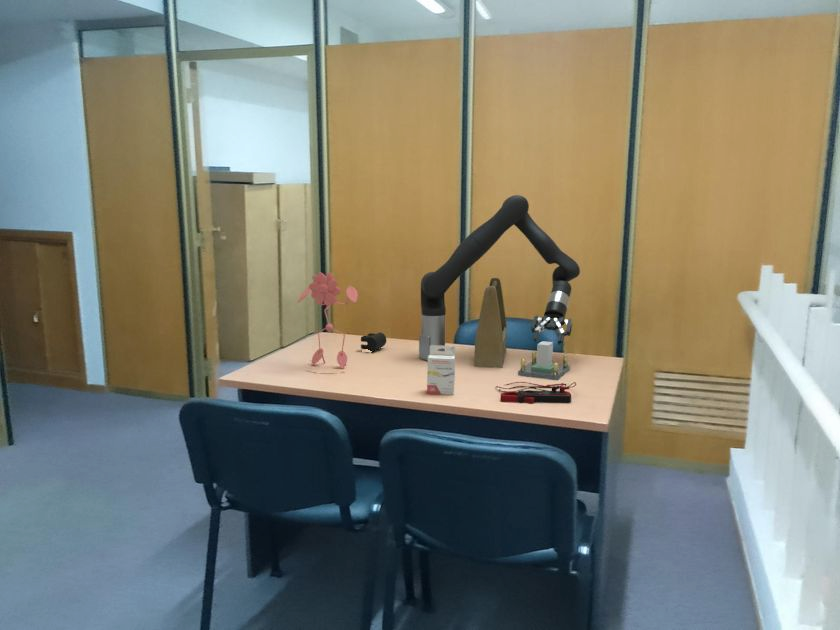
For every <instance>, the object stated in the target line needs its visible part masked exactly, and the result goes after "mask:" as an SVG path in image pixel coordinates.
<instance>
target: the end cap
mask: <svg viewBox="0 0 840 630" xmlns="http://www.w3.org/2000/svg"><path fill="white" fill-rule="evenodd" d="M360 342H361V343H362V342H364V343H366V344H360V349H361V350H363V349H368V350H370V351H374V352H376V351H377V349H378V350H380V349H381V347H382V348H383V347H384V346H386V344H387V336H386V335H385V334H384V333H383V332H382V331H381V332H380V331H379V332H376V333H372V332H371V333H368V334H367V335H362V336H361V337H360ZM379 348H380V349H379ZM375 350H376V351H375Z"/></svg>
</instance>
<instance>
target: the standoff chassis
mask: <svg viewBox="0 0 840 630" xmlns="http://www.w3.org/2000/svg"><path fill="white" fill-rule="evenodd" d="M531 353H532V354H531V361H530V362H529V363H528V364H526V361H527V360H526V358H521V359H520V369H519V370H518V371H517V375H518V376H520V377H527V378H537V379H545V380H546V379H547V380H552V381H553V380H554V381H558V380H560V377H561V376H562V377H563V376H564V375H565V374H566V373H567V372H568V371H569V370H571V368H570V367H571V365H570V364H569V363H568V362H569V354H563V361H562V364H559V362H557V361H555V362H553V363H554V366H553V370H552V371H551V372H547V371H538V370H531V367H532V366H533V365H535V364H536V363H537V351H531ZM562 377H561V378H562Z"/></svg>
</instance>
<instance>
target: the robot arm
mask: <svg viewBox="0 0 840 630" xmlns="http://www.w3.org/2000/svg"><path fill="white" fill-rule="evenodd" d="M529 207H530V206H529V201H528V199H527V198H526V197H525V196H523V195H519V194H514V195H512V196H509V197H507V198H506V199H505V200H504V201H503V203H502V205H501V207H500V208H499V209H498V210H497V212H496V213H494V215H493V216H492V217H491V218H490V219H488V220H486V221H485V222H484V223H483V224H481V225H479V227H477V228H476V229H475V230H473V231H472V232H471V233H469V235H468V236H467V237H465V238H464V239H463V240H462V242H460V243H459V244H458V246H457V247H456V249H455V250H454V252H453V253H452V254H451V256H450V257H449V258H448V259H447V261H446V262H445V263H444V264H442V265H441V266H440V267H438V269H437V270H435V271H430V272H427V273H425V274H424V275H423V277H421V282H420V308H421V310H420V311H421V323H420V324H421V328H420V329H421V333H419V334H418V335H419V337H418V338H419V339H418V340H419V341H418V358H419V359H422V360H423V361H427V362H428V356H429V354H430V350H429V349H430V345H434V346H446V314H447V313H446V312H447V311H446V310H447V309H446V303H445V301H446V300H445V293H446V292H447V291H448V290H449V288H450V287H451V286H452V285H453V284H454V283H455V281H456V280H457V279H459V277H460V276H462V274H464V273H465V272H466V271H467V270H468V269H470V268H471V267H473V265H475V264H476V262H478V261H479V260H480V259H481V258H482V257H483V256H484V255H486V253H488V251H490V249H491V248H493V246H494V245H495V244H496V243H497V242H498V240H500V239H501V237H502V236H503V234H504V233H506V231H508V230H509V229H510V228H511V227H512V226H515V227H516V228H517V229H518V230H519V231H520V232H521V233H522V234H523V235H524V237H526V239H527V240H528V241H529V242H530V243H531V245H532V247H533V248H534V249H535V250H536V252H537V253H538V254H539V255H540V256H541V258H542V259H543V260H544V261H545V262H546V263H547V264H548V265H553V264H556V265H558V266H557V267H556V268H554V270H553V272H552V276H551V277H552V278H551V279H552V281H551V283H552V288H551V292H550V295H549V297H548V300H547V304H546V307H545V310H544V314H543V317H539V316H538V315H535V316H534V318H533V321H532V323H531V326H530V329H531V333H534V334H533V341H534V343H538V341H539V338H540V334H541V333H542V332H545V331H546V330H549V331H551V330H552V331H557V330H558V333H559V335H558V339H557V345H562V344H563V343H564V340H565V337H566V336H568V337H570V336H571V333H572V329H573V328H572V327H573V320H572V318H568V319H566V315H567V311H568V308H569V303H570V302H569V301H570V296H571V293H572V285H571V284H570V282H571V281H572V280H574V279H576V278H577V277H579V276H580V273H581V271H580V270H581V269H580V266H579V264H578V263H577V262H576V261H575V260H574V259H573V258H572V257H570V256H569V255H568V254H566V253H565V252H563V251H562V250H561V249H560V247H559V246H558V245H557V244H556V242H555V241H554V240H553V239H552V238H551V237H550V236H549V234H548V233H546V232H545V231H544V230H543V229H542V228H541V227H540V226H539V225H538V224H537V223H536V222H535V220H534V219H533V218H532V217H531V216H530V213H529V210H530V209H529ZM565 324H566V330H564V328H563V326H564V325H565ZM438 351H446V349H443V348H441V349H438Z"/></svg>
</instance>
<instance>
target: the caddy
mask: <svg viewBox="0 0 840 630" xmlns="http://www.w3.org/2000/svg"><path fill="white" fill-rule="evenodd" d="M505 310H506V309H505V304H504V296H503V288H502V282H501V279H500V278H499V277H492V278H491V279H490V281H489V286H486V287H485V289H484V292H483V296H482V303H481V307H480V313H479V317H478V322H477V323H478V324H477V328H476V332H475V333H476V334H475V339H474V367H475V366H478V367H479V368H494V367H500V368H499V369H502V368H503V366H504V360H505V358H506V351H507V335H508V326H507V324H508V323H507V318H506V317H507V316H506V311H505Z"/></svg>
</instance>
